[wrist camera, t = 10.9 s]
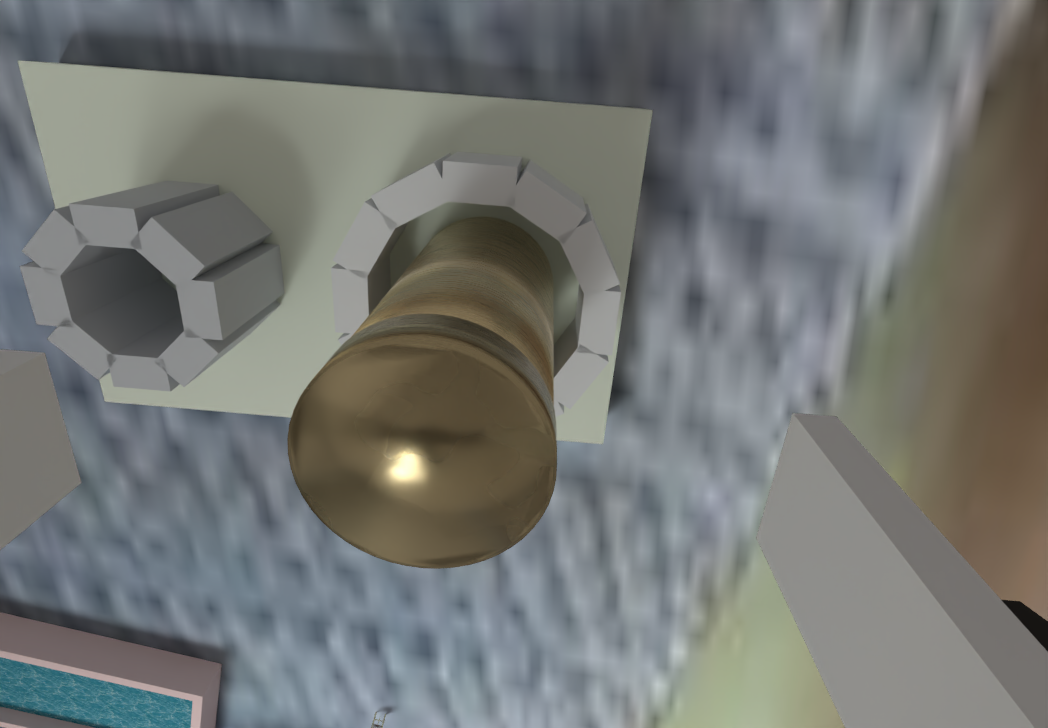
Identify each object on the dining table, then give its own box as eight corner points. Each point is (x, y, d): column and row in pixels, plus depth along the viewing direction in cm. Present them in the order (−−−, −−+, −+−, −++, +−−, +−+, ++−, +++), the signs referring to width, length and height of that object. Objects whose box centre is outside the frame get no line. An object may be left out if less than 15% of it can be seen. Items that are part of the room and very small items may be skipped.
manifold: (131, 383, 23) (14, 464, 18) (57, 62, 18) (-130, 53, 13) (600, 422, 23) (612, 517, 18) (645, 108, 18) (679, 116, 13)
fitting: (414, 345, 20) (299, 557, 11) (413, 209, 18) (273, 328, 9) (548, 356, 20) (544, 578, 11) (561, 220, 18) (570, 353, 9)
